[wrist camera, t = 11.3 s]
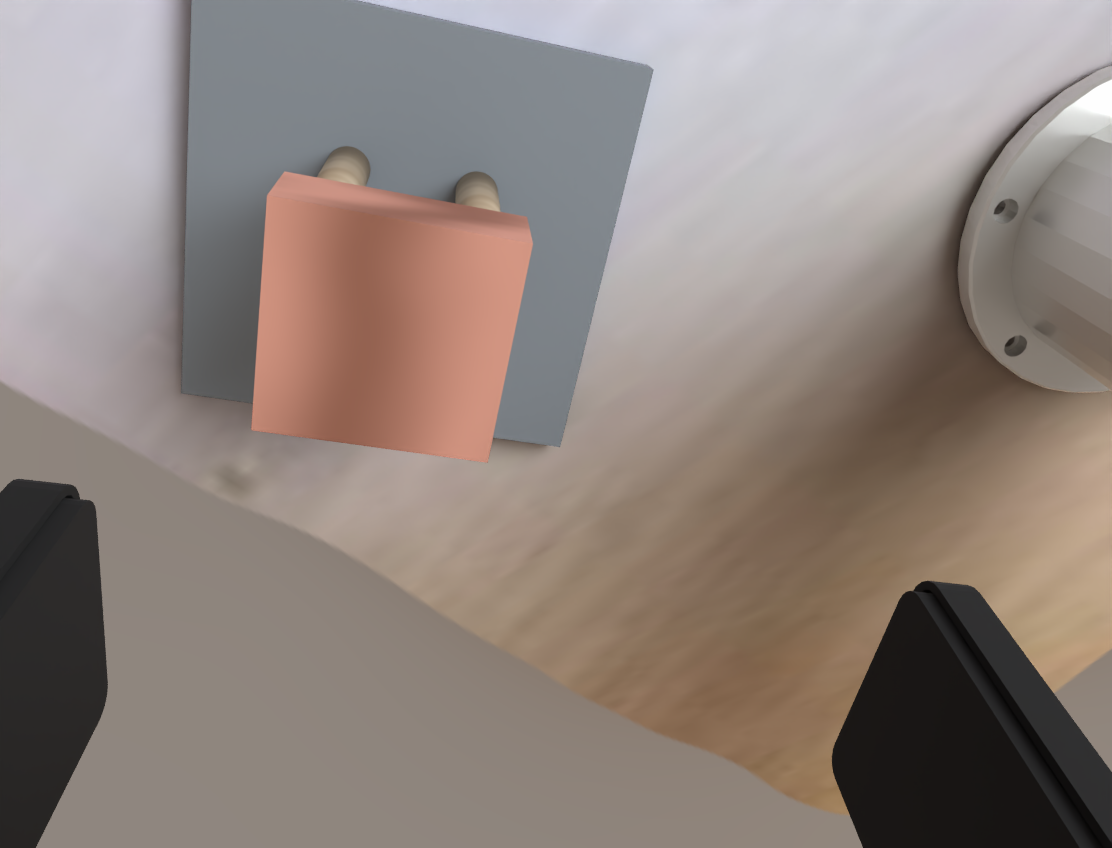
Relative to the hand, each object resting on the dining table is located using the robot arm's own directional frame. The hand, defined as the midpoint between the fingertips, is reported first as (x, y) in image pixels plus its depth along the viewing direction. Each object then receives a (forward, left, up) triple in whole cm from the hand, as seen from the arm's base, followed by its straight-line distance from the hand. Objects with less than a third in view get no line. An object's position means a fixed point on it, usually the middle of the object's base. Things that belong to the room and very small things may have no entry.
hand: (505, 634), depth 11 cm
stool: (+2, +3, -22) cm, 22 cm away
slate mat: (+2, +3, -23) cm, 23 cm away
